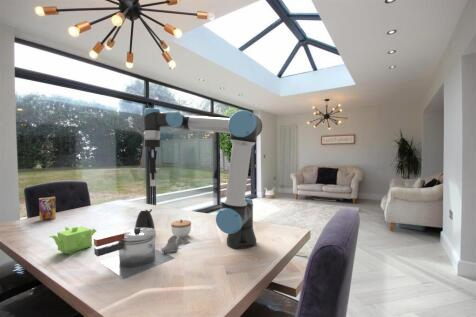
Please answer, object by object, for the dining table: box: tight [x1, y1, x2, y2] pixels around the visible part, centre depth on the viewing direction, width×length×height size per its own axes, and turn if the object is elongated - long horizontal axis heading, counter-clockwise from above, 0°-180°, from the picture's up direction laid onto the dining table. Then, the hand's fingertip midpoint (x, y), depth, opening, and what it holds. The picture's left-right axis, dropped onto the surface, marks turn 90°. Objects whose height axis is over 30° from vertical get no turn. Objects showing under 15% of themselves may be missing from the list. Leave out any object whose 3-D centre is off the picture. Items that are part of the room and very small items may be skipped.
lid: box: [93, 227, 157, 248], centre depth 98 cm, size 23×15×3 cm, turn 138°
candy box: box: [38, 196, 57, 222], centre depth 169 cm, size 9×4×15 cm, turn 127°
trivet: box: [99, 248, 175, 280], centre depth 102 cm, size 22×22×1 cm
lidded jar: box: [170, 219, 192, 238], centre depth 133 cm, size 11×11×9 cm
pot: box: [93, 235, 156, 268], centre depth 98 cm, size 23×15×10 cm, turn 141°
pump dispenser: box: [134, 208, 156, 230], centre depth 132 cm, size 10×10×15 cm
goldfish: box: [160, 235, 191, 254], centre depth 117 cm, size 20×10×9 cm
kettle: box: [48, 226, 97, 256], centre depth 114 cm, size 15×14×11 cm
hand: (153, 185), depth 123 cm, fingers closed
